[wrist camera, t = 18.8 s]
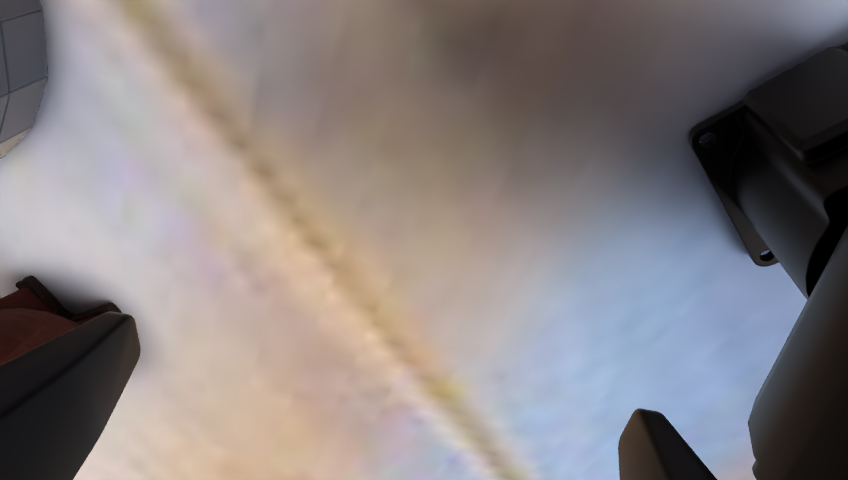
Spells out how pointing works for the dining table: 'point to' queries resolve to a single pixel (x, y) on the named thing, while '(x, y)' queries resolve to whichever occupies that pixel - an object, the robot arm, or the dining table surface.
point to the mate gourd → (36, 318)
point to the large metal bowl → (20, 69)
